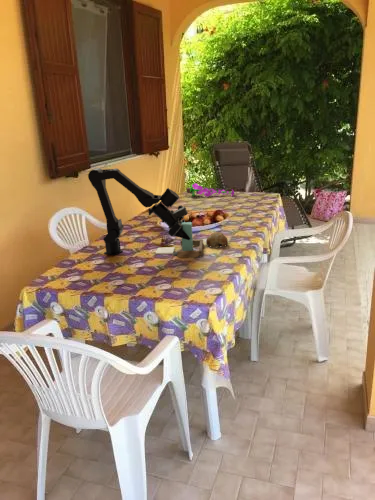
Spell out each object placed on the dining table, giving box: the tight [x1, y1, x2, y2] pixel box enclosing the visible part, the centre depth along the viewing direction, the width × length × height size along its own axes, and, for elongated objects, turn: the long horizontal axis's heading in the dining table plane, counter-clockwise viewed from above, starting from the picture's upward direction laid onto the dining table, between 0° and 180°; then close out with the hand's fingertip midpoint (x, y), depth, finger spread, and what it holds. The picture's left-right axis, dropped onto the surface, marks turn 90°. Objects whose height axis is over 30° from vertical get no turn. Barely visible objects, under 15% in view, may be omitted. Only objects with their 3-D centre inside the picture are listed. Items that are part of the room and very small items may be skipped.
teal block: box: [181, 221, 194, 251], centre depth 197 cm, size 4×4×13 cm
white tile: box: [155, 246, 176, 255], centre depth 200 cm, size 8×8×1 cm
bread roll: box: [206, 231, 229, 248], centre depth 204 cm, size 10×10×8 cm
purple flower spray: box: [185, 182, 235, 198], centre depth 315 cm, size 12×16×35 cm
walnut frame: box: [176, 239, 204, 258], centre depth 198 cm, size 11×17×2 cm, turn 176°
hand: (190, 236), depth 197 cm, fingers open, 7 cm apart
